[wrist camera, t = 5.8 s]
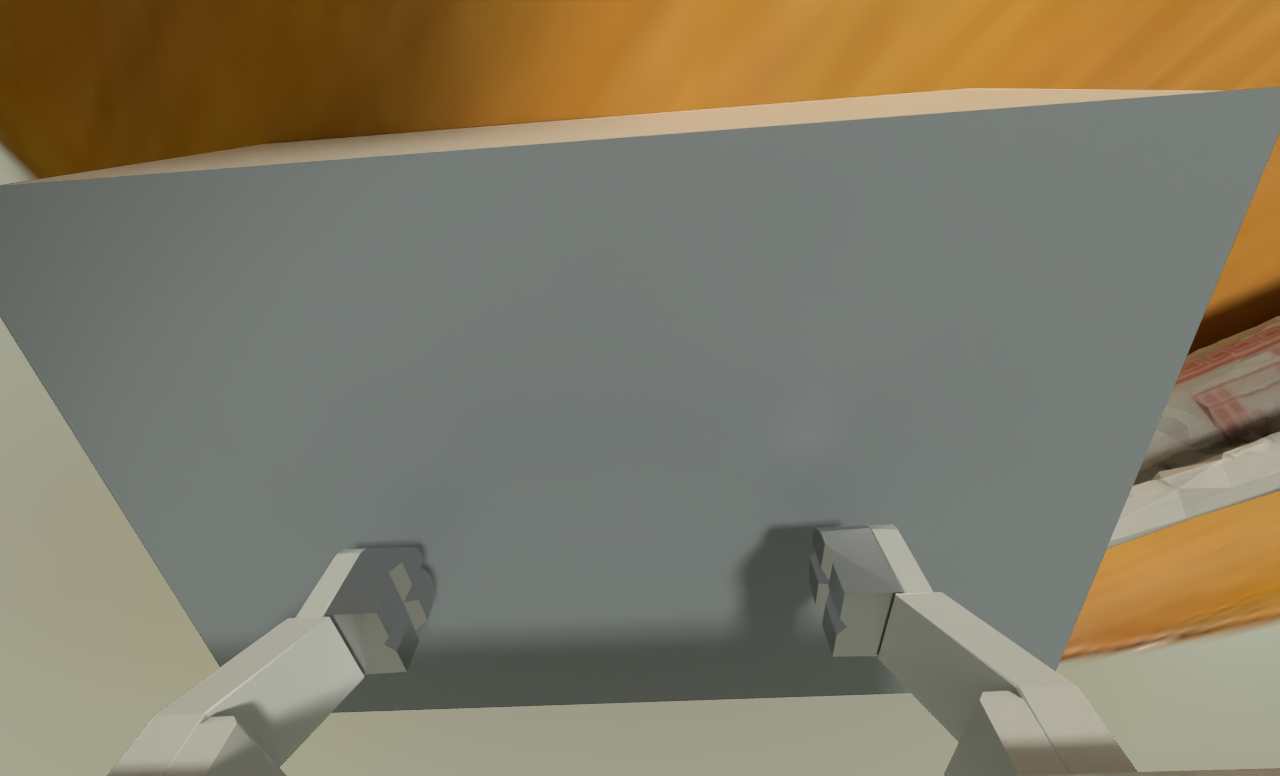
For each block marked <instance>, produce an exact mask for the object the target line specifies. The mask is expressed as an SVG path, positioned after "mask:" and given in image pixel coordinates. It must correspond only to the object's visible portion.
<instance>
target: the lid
mask: <svg viewBox="0 0 1280 776" xmlns="http://www.w3.org/2000/svg"><path fill="white" fill-rule="evenodd" d="M1279 133H1280V87H1273V88H1259V89H1245V90H1231V91H1218V92H1205V93H1192V94H1180V95H1167V96H1154V97H1141V98H1128V99H1115V100H1102V101H1089V102H1076V103H1063V104H1050V105H1037V106H1024V107H1011V108H998V109H986V110H973V111H960V112H947V113H934V114H921V115H908V116H895V117H882V118H869V119H856V120H843V121H830V122H817V123H804V124H792V125H779V126H766V127H753V128H740V129H727V130H714V131H701V132H688V133H675V134H662V135H649V136H636V137H623V138H610V139H598V140H585V141H572V142H559V143H546V144H533V145H520V146H507V147H494V148H481V149H468V150H455V151H442V152H429V153H416V154H404V155H391V156H378V157H365V158H352V159H339V160H326V161H313V162H300V163H287V164H274V165H261V166H248V167H235V168H222V169H210V170H197V171H184V172H171V173H158V174H145V175H132V176H119V177H106V178H93V179H80V180H67V181H54V182H41V183H29V184H16V185H3V186H0V317H1V319H2V320H3V322H4V324H5V325H6V327H7V328H8V330H9V332H10V333H11V335H12V336H13V338H14V340H15V341H16V343H17V344H18V346H19V347H20V349H21V350H22V352H23V354H24V355H25V357H26V359H27V360H28V362H29V363H30V365H31V367H32V368H33V370H34V371H35V373H36V375H37V376H38V378H39V379H40V381H41V383H42V384H43V386H44V387H45V389H46V390H47V392H48V394H49V395H50V397H51V398H52V400H53V402H54V403H55V405H56V406H57V408H58V410H59V411H60V413H61V414H62V416H63V418H64V419H65V421H66V422H67V424H68V426H69V427H70V429H71V430H72V432H73V434H74V435H75V437H76V438H77V440H78V441H79V443H80V445H81V446H82V448H83V449H84V451H85V453H86V454H87V456H88V457H89V459H90V461H91V462H92V464H93V465H94V467H95V469H96V470H97V472H98V473H99V475H100V477H101V478H102V480H103V481H104V483H105V484H106V486H107V488H108V489H109V491H110V492H111V494H112V496H113V497H114V499H115V500H116V502H117V503H118V505H119V507H120V508H121V510H122V512H123V513H124V515H125V516H126V518H127V519H128V521H129V523H130V524H131V526H132V527H133V529H134V531H135V532H136V534H137V535H138V537H139V539H140V540H141V542H142V543H143V545H144V547H145V548H146V550H147V551H148V553H149V555H150V556H151V558H152V559H153V561H154V563H155V564H156V566H157V567H158V569H159V570H160V572H161V574H162V575H163V577H164V578H165V580H166V582H167V583H168V585H169V586H170V588H171V590H172V591H173V593H174V594H175V596H176V597H177V599H178V601H179V602H180V604H181V605H182V607H183V609H184V610H185V612H186V613H187V615H188V617H189V618H190V620H191V621H192V623H193V625H194V626H195V628H196V629H197V631H198V632H199V634H200V636H201V637H202V639H203V641H204V642H205V644H206V645H207V647H208V648H209V650H210V652H211V653H212V655H213V656H214V658H215V660H216V661H217V663H218V664H219V666H220V667H221V666H223V665H224V664H225V663H227V662H228V661H230V660H231V659H232V658H234V657H235V656H236V655H238V654H239V653H241V652H242V651H243V650H245V649H246V648H247V647H249V646H250V645H252V644H253V643H254V642H256V641H257V640H259V639H260V638H261V637H263V636H264V635H265V634H267V633H268V632H270V631H271V630H272V629H274V628H275V627H276V626H278V625H279V624H281V623H282V622H283V621H285V620H286V619H287V618H295V617H296V616H297V614H298V613H299V611H300V610H301V608H302V606H303V605H304V603H305V602H306V600H307V599H308V597H309V596H310V594H311V593H312V591H313V589H314V588H315V586H316V585H317V583H318V582H319V580H320V579H321V577H322V576H323V574H324V572H325V571H326V569H327V568H328V566H329V565H330V563H331V562H332V560H333V559H334V557H335V555H336V554H337V553H339V552H340V551H342V550H343V549H358V548H389V547H416V548H419V550H420V552H421V554H422V556H423V558H424V560H423V562H422V564H421V566H420V567H421V568H422V569H424V570H425V571H427V572H428V573H430V576H431V578H432V581H433V587H434V598H433V605H432V609H431V612H430V615H429V617H428V620H427V621H426V622H425V623H424V624H423V625H421V626H420V627H419V628H418V629H417V630H416V632H417V635H418V638H419V643H418V645H417V648H416V650H415V653H414V655H413V658H412V660H411V663H410V665H409V668H408V670H407V672H395V673H380V674H365V675H364V676H365V677H364V678H363V679H362V680H361V682H360V683H359V684H358V685H357V686H356V687H355V688H354V689H353V690H352V691H351V692H350V693H349V694H348V695H347V696H346V697H345V698H344V700H343V701H342V702H341V703H340V704H339V705H338V706H337V707H336V708H335V709H334V710H333V711H332V712H331V713H333V712H363V711H393V710H422V709H448V708H449V709H452V708H480V707H481V708H482V707H511V706H539V705H540V706H541V705H568V704H569V705H570V704H599V703H630V702H657V701H658V702H659V701H688V700H717V699H747V698H776V697H806V696H837V695H866V694H895V693H911V692H910V691H909V690H908V689H907V688H906V687H905V686H904V685H903V684H902V683H901V682H900V681H899V680H898V679H897V678H896V677H895V676H894V675H893V674H892V673H891V672H890V671H889V670H888V669H887V668H886V667H885V665H884V664H883V663H882V662H881V661H880V660H879V659H878V656H843V657H833V656H832V653H831V650H830V647H829V644H828V641H827V638H826V635H825V632H824V629H823V626H822V622H823V616H824V612H823V611H822V610H821V609H820V608H819V607H818V606H816V605H815V601H814V598H813V595H812V591H811V586H810V580H809V561H810V557H811V556H812V555H813V554H814V553H815V549H814V546H813V543H812V538H813V532H814V531H815V529H816V528H826V527H844V526H862V525H864V526H867V525H883V524H893V525H894V526H895V527H897V529H898V530H899V532H900V534H901V536H902V537H903V539H904V541H905V543H906V544H907V546H908V548H909V550H910V551H911V553H912V555H913V557H914V558H915V560H916V562H917V564H918V565H919V567H920V569H921V571H922V572H923V574H924V576H925V578H926V580H927V581H928V583H929V585H930V587H931V588H932V590H933V592H943V593H944V594H945V595H947V596H948V597H950V598H951V599H953V600H954V601H955V602H957V603H958V604H960V605H961V606H963V607H964V608H965V609H967V610H968V611H970V612H971V613H973V614H974V615H975V616H977V617H978V618H980V619H981V620H983V621H984V622H985V623H987V624H988V625H990V626H991V627H993V628H994V629H995V630H997V631H998V632H1000V633H1001V634H1003V635H1004V636H1005V637H1007V638H1008V639H1010V640H1011V641H1013V642H1014V643H1015V644H1017V645H1018V646H1020V647H1021V648H1023V649H1024V650H1025V651H1027V652H1028V653H1030V654H1031V655H1033V656H1034V657H1036V658H1037V659H1038V660H1040V661H1041V662H1043V663H1044V664H1046V665H1047V666H1048V667H1050V668H1051V669H1053V670H1054V671H1056V669H1057V667H1058V664H1059V662H1060V660H1061V657H1062V655H1063V652H1064V650H1065V648H1066V645H1067V643H1068V640H1069V638H1070V636H1071V633H1072V631H1073V628H1074V626H1075V623H1076V621H1077V619H1078V616H1079V614H1080V611H1081V609H1082V607H1083V604H1084V602H1085V599H1086V597H1087V595H1088V592H1089V590H1090V587H1091V585H1092V583H1093V580H1094V578H1095V575H1096V573H1097V571H1098V568H1099V566H1100V563H1101V561H1102V559H1103V556H1104V554H1105V551H1106V549H1107V547H1108V544H1109V542H1110V539H1111V537H1112V534H1113V532H1114V530H1115V527H1116V525H1117V522H1118V520H1119V518H1120V515H1121V513H1122V510H1123V508H1124V506H1125V503H1126V501H1127V498H1128V496H1129V494H1130V491H1131V489H1132V486H1133V484H1134V482H1135V479H1136V477H1137V474H1138V472H1139V470H1140V467H1141V465H1142V462H1143V460H1144V458H1145V455H1146V453H1147V450H1148V448H1149V445H1150V443H1151V441H1152V438H1153V436H1154V433H1155V431H1156V429H1157V426H1158V424H1159V421H1160V419H1161V417H1162V414H1163V412H1164V409H1165V407H1166V405H1167V402H1168V400H1169V397H1170V395H1171V393H1172V390H1173V388H1174V385H1175V383H1176V381H1177V378H1178V376H1179V373H1180V371H1181V369H1182V366H1183V364H1184V361H1185V359H1186V357H1187V354H1188V352H1189V349H1190V347H1191V344H1192V342H1193V340H1194V337H1195V335H1196V332H1197V330H1198V328H1199V325H1200V323H1201V320H1202V318H1203V316H1204V313H1205V311H1206V308H1207V306H1208V304H1209V301H1210V299H1211V296H1212V294H1213V292H1214V289H1215V287H1216V284H1217V282H1218V280H1219V277H1220V275H1221V272H1222V270H1223V268H1224V265H1225V263H1226V260H1227V258H1228V255H1229V253H1230V251H1231V248H1232V246H1233V243H1234V241H1235V239H1236V236H1237V234H1238V231H1239V229H1240V227H1241V224H1242V222H1243V219H1244V217H1245V215H1246V212H1247V210H1248V207H1249V205H1250V203H1251V200H1252V198H1253V195H1254V193H1255V191H1256V188H1257V186H1258V183H1259V181H1260V179H1261V176H1262V174H1263V171H1264V169H1265V166H1266V164H1267V162H1268V159H1269V157H1270V154H1271V152H1272V150H1273V147H1274V145H1275V142H1276V140H1277V138H1278V135H1279Z"/></svg>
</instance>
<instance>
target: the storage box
mask: <svg viewBox="0 0 1280 776" xmlns="http://www.w3.org/2000/svg"><path fill="white" fill-rule="evenodd" d="M1205 92H1218V91H1195V90H1103V89H1010V88H966V89H953V90H941V91H928V92H915V93H903V94H890V95H877V96H865V97H852V98H839V99H827V100H814V101H801V102H789V103H776V104H764V105H751V106H738V107H726V108H713V109H700V110H688V111H675V112H662V113H650V114H637V115H624V116H612V117H599V118H586V119H574V120H561V121H548V122H536V123H523V124H510V125H498V126H485V127H472V128H460V129H447V130H434V131H422V132H409V133H396V134H384V135H371V136H358V137H346V138H333V139H321V140H308V141H295V142H283V143H270V144H261V145H254V146H248V147H241V148H235V149H229V150H222V151H216V152H209V153H203V154H197V155H190V156H184V157H178V158H171V159H165V160H158V161H152V162H146V163H139V164H133V165H126V166H120V167H114V168H107V169H101V170H95V171H88V172H82V173H75V174H69V175H63V176H56V177H50V178H43V179H37V180H31V181H24V182H18V183H11V184H5V185H16V184H29V183H41V182H54V181H67V180H80V179H93V178H106V177H119V176H132V175H145V174H158V173H171V172H184V171H197V170H210V169H222V168H235V167H248V166H261V165H274V164H287V163H300V162H313V161H326V160H339V159H352V158H365V157H378V156H391V155H404V154H416V153H429V152H442V151H455V150H468V149H481V148H494V147H507V146H520V145H533V144H546V143H559V142H572V141H585V140H598V139H610V138H623V137H636V136H649V135H662V134H675V133H688V132H701V131H714V130H727V129H740V128H753V127H766V126H779V125H792V124H804V123H817V122H830V121H843V120H856V119H869V118H882V117H895V116H908V115H921V114H934V113H947V112H960V111H973V110H986V109H998V108H1011V107H1024V106H1037V105H1050V104H1063V103H1076V102H1089V101H1102V100H1115V99H1128V98H1141V97H1154V96H1167V95H1180V94H1192V93H1205ZM0 186H3V185H0Z"/></svg>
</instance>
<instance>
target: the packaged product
mask: <svg viewBox="0 0 1280 776" xmlns="http://www.w3.org/2000/svg"><path fill="white" fill-rule="evenodd" d="M1277 491H1280V316H1277V317H1275V318H1272V319H1270V320H1268V321H1266V322H1264V323H1262V324H1260V325H1258V326H1256V327H1253V328H1251V329H1248V330H1245V331H1243V332H1240V333H1237V334H1235V335H1233V336H1230V337H1228V338H1226V339H1222V340H1220V341H1218V342H1217V343H1214V344H1212V345H1209V346H1207V347H1204V348H1201V349H1198V350H1196V351H1195V352H1193V353H1191V354H1189V355H1188V356H1187V357H1186V359H1185V361H1184V364H1183V366H1182V369H1181V371H1180V373H1179V376H1178V378H1177V381H1176V383H1175V385H1174V388H1173V390H1172V393H1171V395H1170V397H1169V400H1168V402H1167V405H1166V407H1165V409H1164V412H1163V414H1162V417H1161V419H1160V421H1159V424H1158V426H1157V429H1156V431H1155V433H1154V436H1153V438H1152V441H1151V443H1150V445H1149V448H1148V450H1147V453H1146V455H1145V458H1144V460H1143V462H1142V465H1141V467H1140V470H1139V472H1138V474H1137V477H1136V479H1135V482H1134V484H1133V486H1132V489H1131V491H1130V494H1129V496H1128V498H1127V501H1126V503H1125V506H1124V508H1123V510H1122V513H1121V515H1120V518H1119V520H1118V522H1117V525H1116V527H1115V530H1114V532H1113V534H1112V537H1111V539H1110V542H1109V544H1108V547H1107V549H1109V548H1111V547H1114V546H1117V545H1120V544H1123V543H1125V542H1128V541H1131V540H1134V539H1136V538H1139V537H1142V536H1145V535H1148V534H1150V533H1153V532H1156V531H1159V530H1161V529H1164V528H1167V527H1170V526H1173V525H1175V524H1178V523H1181V522H1184V521H1186V520H1189V519H1192V518H1195V517H1198V516H1200V515H1204V514H1207V513H1210V512H1213V511H1217V510H1220V509H1223V508H1226V507H1230V506H1233V505H1236V504H1239V503H1242V502H1246V501H1249V500H1252V499H1255V498H1258V497H1261V496H1265V495H1268V494H1271V493H1274V492H1277Z"/></svg>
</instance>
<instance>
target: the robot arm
mask: <svg viewBox="0 0 1280 776" xmlns="http://www.w3.org/2000/svg"><path fill="white" fill-rule="evenodd" d="M812 543H813V546H814V549H815V553H814V554H813V555H812V556H811V557H810V561H809V580H810V586H811V591H812V595H813V598H814V601H815V605H816V606H818V607H819V608H820V609H821V610H822V611H823V612H824V616H823V622H822V626H823V629H824V632H825V635H826V638H827V641H828V644H829V647H830V650H831V653H832V656H833V657H843V656H878V659H879V660H880V661H881V662H882V663H883V664H884V665H885V667H886V668H887V669H888V670H889V671H890V672H891V673H892V674H893V675H894V676H895V677H896V678H897V679H898V680H899V681H900V682H901V683H902V684H903V685H904V686H905V687H906V688H907V689H908V690H909V691H910V692H911V693H912V694H913V695H914V696H915V697H916V698H917V699H918V701H920V703H921V704H922V705H923V706H924V707H925V708H926V709H927V710H928V711H929V712H930V713H931V714H932V715H933V716H934V717H935V718H936V719H937V720H938V721H939V722H940V723H941V724H942V725H943V726H944V727H945V728H946V729H947V730H948V731H949V732H950V734H951V735H952V736H954V738H955V739H956V740H957V741H958V742H959V743H958V746H957V748H956V750H955V752H954V754H953V756H952V759H951V760H950V762H949V765H948V767H947V769H946V771H945V773H944V775H945V776H1280V768H1275V769H1237V770H1200V771H1161V772H1137V770H1136V769H1135V767H1134V766H1133V765H1132V763H1131V762H1130V760H1129V759H1128V757H1127V756H1126V755H1125V753H1124V752H1123V751H1122V749H1121V748H1120V746H1119V745H1118V743H1117V742H1116V741H1115V739H1114V738H1113V736H1112V735H1111V734H1110V733H1109V731H1108V729H1107V728H1106V726H1105V725H1104V724H1103V722H1102V721H1101V719H1100V718H1099V717H1098V715H1097V714H1096V712H1095V711H1094V710H1093V708H1092V707H1091V705H1090V704H1089V702H1088V701H1087V700H1086V698H1085V697H1084V695H1083V694H1082V693H1081V691H1080V690H1079V688H1078V687H1077V686H1076V685H1074V684H1073V683H1071V682H1070V681H1068V680H1067V679H1066V678H1064V677H1063V676H1061V675H1060V674H1058V673H1057V672H1056V671H1054V670H1053V669H1051V668H1050V667H1048V666H1047V665H1046V664H1044V663H1043V662H1041V661H1040V660H1038V659H1037V658H1036V657H1034V656H1033V655H1031V654H1030V653H1028V652H1027V651H1025V650H1024V649H1023V648H1021V647H1020V646H1018V645H1017V644H1015V643H1014V642H1013V641H1011V640H1010V639H1008V638H1007V637H1005V636H1004V635H1003V634H1001V633H1000V632H998V631H997V630H995V629H994V628H993V627H991V626H990V625H988V624H987V623H985V622H984V621H983V620H981V619H980V618H978V617H977V616H975V615H974V614H973V613H971V612H970V611H968V610H967V609H965V608H964V607H963V606H961V605H960V604H958V603H957V602H955V601H954V600H953V599H951V598H950V597H948V596H947V595H945V594H944V593H943V592H933V590H932V588H931V587H930V585H929V583H928V581H927V580H926V578H925V576H924V574H923V572H922V571H921V569H920V567H919V565H918V564H917V562H916V560H915V558H914V557H913V555H912V553H911V551H910V550H909V548H908V546H907V544H906V543H905V541H904V539H903V537H902V536H901V534H900V532H899V530H898V529H897V527H895V526H894V525H893V524H883V525H867V526H864V525H862V526H844V527H826V528H816V529H815V531H814V532H813V538H812ZM423 560H424V558H423V556H422V554H421V552H420V550H419V548H416V547H389V548H358V549H343V550H342V551H340V552H339V553H337V554H336V555H335V557H334V559H333V560H332V562H331V563H330V565H329V566H328V568H327V569H326V571H325V572H324V574H323V576H322V577H321V579H320V580H319V582H318V583H317V585H316V586H315V588H314V589H313V591H312V593H311V594H310V596H309V597H308V599H307V600H306V602H305V603H304V605H303V606H302V608H301V610H300V611H299V613H298V614H297V616H296V617H295V618H287V619H286V620H285V621H283V622H282V623H281V624H279V625H278V626H276V627H275V628H274V629H272V630H271V631H270V632H268V633H267V634H265V635H264V636H263V637H261V638H260V639H259V640H257V641H256V642H254V643H253V644H252V645H250V646H249V647H247V648H246V649H245V650H243V651H242V652H241V653H239V654H238V655H236V656H235V657H234V658H232V659H231V660H230V661H228V662H227V663H225V664H224V665H223V666H221V667H220V668H219V669H217V670H216V671H214V672H213V673H212V674H210V675H209V676H208V677H206V678H205V679H203V680H202V681H201V682H199V683H198V684H197V685H195V686H194V687H192V688H191V689H190V690H188V691H187V692H185V693H184V694H183V695H181V696H180V697H179V698H177V699H176V700H175V701H173V702H172V703H170V704H169V705H168V706H166V707H165V708H163V709H162V710H161V711H160V712H158V713H157V714H155V715H154V716H153V717H152V718H151V719H150V721H149V722H148V723H147V724H146V726H145V727H144V729H143V730H142V731H141V732H140V734H139V735H138V736H137V738H136V739H135V740H134V741H133V743H132V744H131V745H130V747H129V748H128V749H127V751H126V752H125V753H124V754H123V756H122V757H121V758H120V760H119V761H118V762H117V764H116V765H115V766H114V768H113V769H112V770H111V771H110V773H109V774H108V775H107V776H286V775H285V774H284V773H283V771H281V769H280V768H279V767H280V766H281V765H282V764H283V763H284V762H285V761H286V760H287V759H288V758H289V757H290V756H291V754H293V752H294V751H295V750H296V749H297V748H298V747H299V746H300V745H301V744H302V743H303V742H304V741H305V740H306V739H307V738H308V736H310V734H311V733H312V732H313V731H314V730H315V729H316V728H317V727H318V726H319V725H320V724H321V723H322V722H323V721H324V720H325V719H326V717H327V716H328V715H329V714H330V713H331V712H332V711H333V710H334V709H335V708H336V707H337V706H338V705H339V704H340V703H341V702H342V701H343V700H344V698H345V697H346V696H347V695H348V694H349V693H350V692H351V691H352V690H353V689H354V688H355V687H356V686H357V685H358V684H359V683H360V682H361V680H362V679H363V678H364V677H365V676H364V675H365V674H380V673H395V672H407V670H408V668H409V665H410V663H411V660H412V658H413V655H414V653H415V650H416V648H417V645H418V643H419V638H418V635H417V632H416V630H417V629H418V628H419V627H420V626H421V625H423V624H424V623H425V622H426V621H427V620H428V617H429V615H430V612H431V609H432V605H433V598H434V587H433V581H432V578H431V576H430V573H428V572H427V571H425V570H424V569H422V568H421V567H420V566H421V564H422V562H423Z"/></svg>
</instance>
